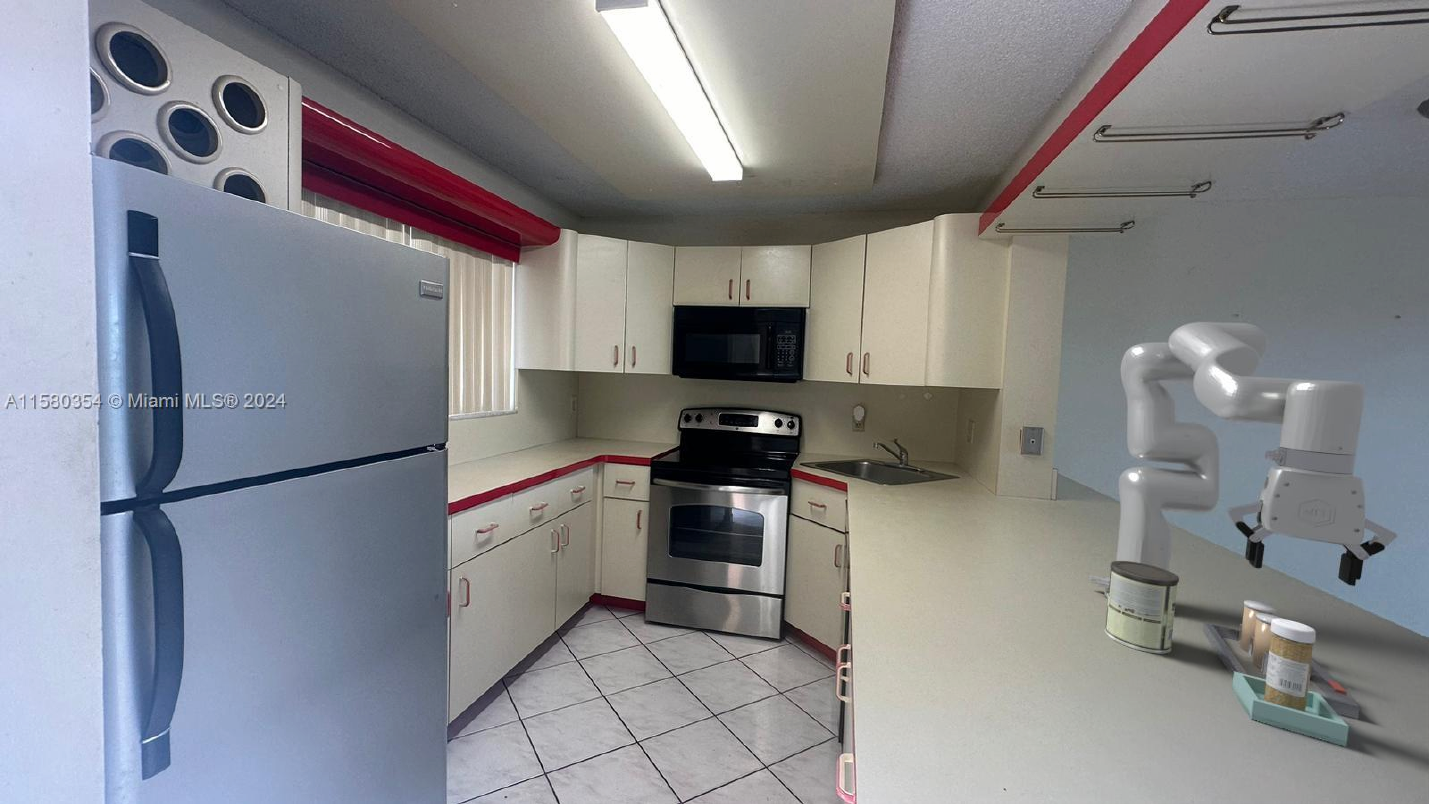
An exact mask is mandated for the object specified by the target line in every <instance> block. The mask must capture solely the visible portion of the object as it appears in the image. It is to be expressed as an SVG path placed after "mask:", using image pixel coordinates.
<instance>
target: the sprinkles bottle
mask: <svg viewBox="0 0 1429 804" xmlns="http://www.w3.org/2000/svg"><path fill="white" fill-rule="evenodd" d="M1270 630H1271V631H1272V632H1271V634H1272V636H1271V645H1270V650H1269V658H1268V667H1267V675H1265V680H1266V688H1265V697H1264V699H1263V701H1266V702H1270V703H1273V704H1277V705H1281V706H1284V707H1288V708H1292V709H1295V710H1299V711H1303V712H1305V708H1306V701H1307V695H1308V691H1310V690H1309V689H1310V680H1311V677H1310V667H1311V658H1312V656H1313V655H1312V653H1313V646H1314V645H1315V643H1316V630H1315V629H1314V628H1313V627H1310V626H1309V625H1306V624H1304V623H1302V622H1298V621H1294V620H1290V619H1286V618H1283V619H1278V618H1276V619H1273V620H1272V622H1271V629H1270ZM1312 659H1313V658H1312Z"/></svg>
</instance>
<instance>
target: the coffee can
mask: <svg viewBox="0 0 1429 804" xmlns="http://www.w3.org/2000/svg"><path fill="white" fill-rule="evenodd" d="M1109 575H1110V576H1109V577H1110V584H1109V595H1108V598H1107V609H1106V618H1105V619H1106V620H1105V628H1104V633H1105V635H1106V636H1107V637H1108V638H1110V639H1111V640H1113V641H1114V642H1116V643H1117V644H1119V645H1123V646H1124V647H1128V648H1131V649H1133V650H1137V651H1141V652H1145V653H1151V654H1156V655H1157V654H1158V655H1162V654H1163V655H1165V654H1169V653H1170V652H1172V642H1173V641H1172V639H1173V631H1174V621H1175V609H1176V603H1177V594H1178V593H1177V592H1178V583H1179V582H1180V577H1179V576H1178V575H1177V574H1175V573H1174V572H1171V571H1170V570H1169V571H1167V570H1164V569H1162V568H1158V567H1155V566H1151V565H1147V564H1143V563H1137V562H1131V561H1116V560H1114V561H1112V562H1110V574H1109Z"/></svg>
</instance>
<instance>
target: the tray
mask: <svg viewBox="0 0 1429 804" xmlns="http://www.w3.org/2000/svg"><path fill="white" fill-rule="evenodd" d="M1232 678H1233V679H1232V685H1231V687H1232V691H1233V694H1235V696H1236V698H1237V699H1238V701H1239V702H1240V704H1241V706H1242V707H1243V708H1244V711H1245V712H1246V714H1247V715H1248V717H1249V718H1250V720H1252V719H1254V720H1253V721H1255V720H1257V721H1256V722H1259V721H1260V723H1262V722H1263V724H1265V723H1267V724H1266V725H1269V724H1270V726H1273V727H1275V728H1280V729H1283V728H1286V729H1288V730H1287V731H1289V730H1292V731H1291V732H1293V731H1296V732H1297V734H1300V733H1301V734H1300V735H1303V734H1304V736H1307V737H1310V736H1313V737H1317V738H1321V739H1322V740H1321V741H1324V740H1327V741H1329V742H1328V743H1331V744H1334V745H1338V746H1341V745H1342V746H1341V747H1345V748H1347V743H1348V735H1349V734H1348V733H1349V725H1348V724H1347V723H1346V721H1344V719H1343V718H1342V717H1341V716H1340V714H1337V713H1336V712H1335V711H1334V710H1333V709H1332V707H1331V706H1330V705H1329V704H1328V703H1327V702H1326V701H1325V700H1324V699H1323V697H1322V696H1323V695H1322V694H1320V693H1319V692H1315V691H1311V690H1308V695H1307V701H1306V708H1305V712H1303V711H1299V710H1295V709H1292V708H1288V707H1284V706H1281V705H1277V704H1273V703H1270V702H1266V701H1263V699H1264V697H1265V688H1266V678H1262V677H1258V676H1253V675H1249V674H1248V675H1246V674H1242V673H1238V672H1235V671H1234V677H1232ZM1321 695H1322V696H1321ZM1286 729H1285V730H1286ZM1296 732H1295V733H1296ZM1313 737H1312V738H1313ZM1317 738H1316V739H1317ZM1323 739H1324V740H1323ZM1327 741H1326V742H1327Z"/></svg>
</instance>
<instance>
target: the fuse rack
mask: <svg viewBox="0 0 1429 804" xmlns="http://www.w3.org/2000/svg"><path fill="white" fill-rule="evenodd" d="M1241 631H1242V623H1239V629H1238V628H1234V627H1229V626H1224V625H1220V624H1215V623H1212V622H1208V621H1207V622H1206V621H1203V625H1202V632H1203V634H1204V635H1205V637H1206V638H1207V641H1208V642H1209V643H1210V645H1211V646H1212V648H1213V649H1214V651H1215V653H1216V654H1217V655H1218V657H1219V658H1220V661H1222V663H1223V665H1224V666H1225V668H1226V669H1227V671H1228V672H1229V674H1230V675H1231V677H1232V678H1233V677H1234V671H1235V672H1238V673H1242V674H1246V675H1249V674H1248V673H1247V671H1246V669H1244V666H1243V665H1242V664H1241V663H1240V662H1239V660H1238V659H1237V657H1236V656H1235V655H1234V652H1233V651H1232V649H1230V647H1229V646H1228V645H1227V643H1226V641H1225V640H1224V638H1225V639H1231V640H1235V641H1238V643H1240V640H1241ZM1253 645H1254V637H1250V646H1249V652H1248V656H1249V657H1250V658H1252V654H1253ZM1268 658H1269V653H1266V652H1263V660H1262V668H1260V671H1261V673H1262V674H1263V675H1264V676H1266V675H1267V667H1268ZM1310 680H1312V681H1313V682H1314V683H1315V684H1316V685H1317V687H1319V689H1320V690H1322V691H1323V692H1324V694H1325V695H1322V694H1320V695H1321V696H1322V697H1323V699H1324V700H1325V701H1326V702H1327V703H1328V704H1329V705H1330V706H1331V707H1332V709H1333V710H1334V711H1335V712H1336V713H1337V714H1338V715H1339V716H1340V715H1341V716H1345V717H1348V718H1352V719H1354V720H1358V719H1359V713H1360V706H1359V704H1358V703H1356V702H1355V700H1353V699H1352V698H1351V697H1350V696H1349V694H1347V693H1348V692H1347V690H1346V689H1345V688H1344V687H1342V685H1340V683H1338V682H1336V681H1334V680H1333V678H1332V677H1331V676H1330V675H1329V674H1327V672H1326V671H1324V669H1322V667H1321V666H1320V665H1319V664H1318V663H1317V662H1316V661H1314V659H1313V658H1311V667H1310Z"/></svg>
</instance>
